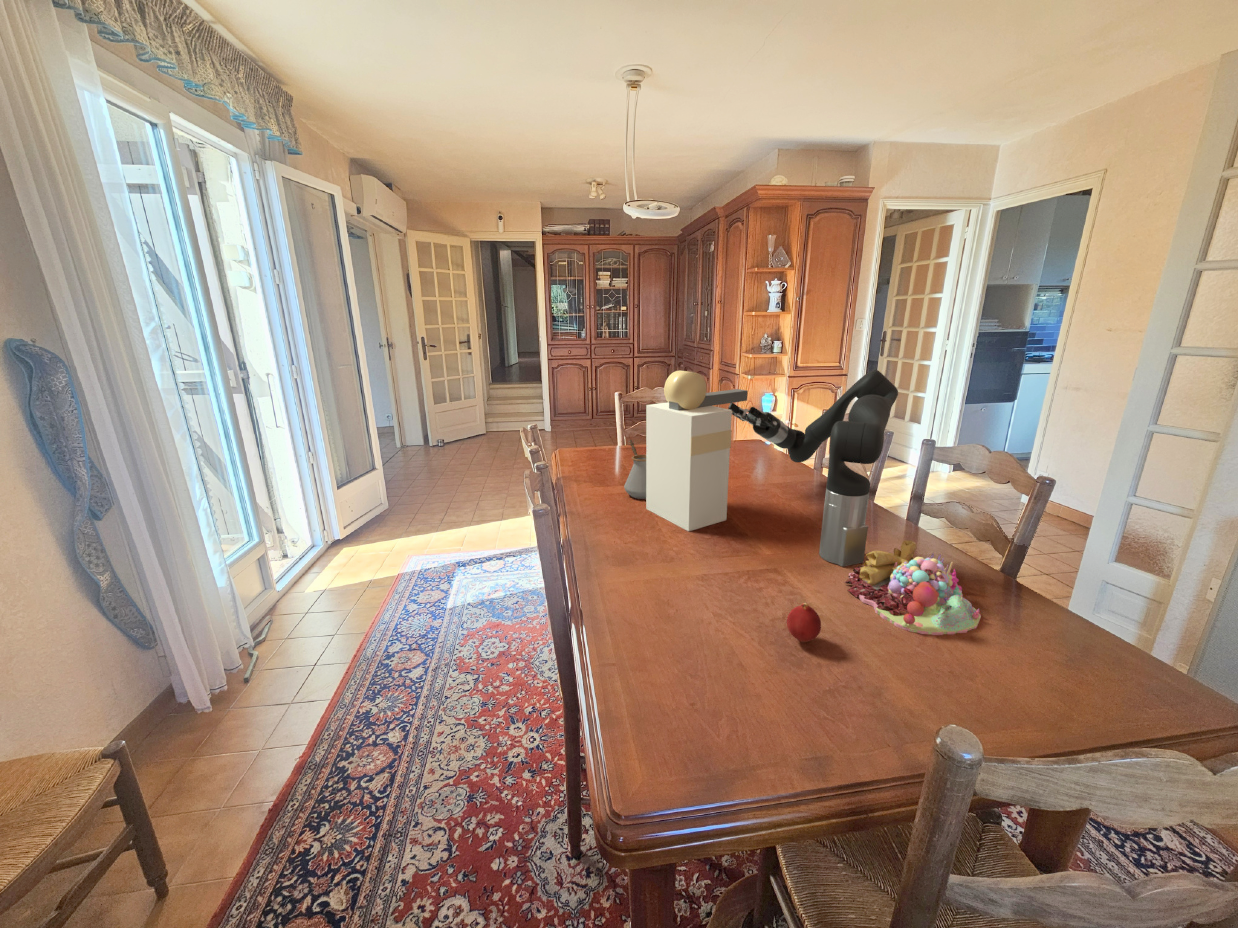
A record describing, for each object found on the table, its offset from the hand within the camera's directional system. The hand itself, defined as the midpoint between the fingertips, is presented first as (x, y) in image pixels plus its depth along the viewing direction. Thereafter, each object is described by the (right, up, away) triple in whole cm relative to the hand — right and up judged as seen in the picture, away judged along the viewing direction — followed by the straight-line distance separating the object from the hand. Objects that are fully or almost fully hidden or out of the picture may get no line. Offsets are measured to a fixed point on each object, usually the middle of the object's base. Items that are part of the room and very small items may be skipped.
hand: (740, 407), depth 152 cm
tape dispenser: (-10, 0, -7) cm, 13 cm away
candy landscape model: (+25, -45, -46) cm, 69 cm away
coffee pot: (-30, -26, +20) cm, 44 cm away
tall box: (-17, -32, -2) cm, 36 cm away
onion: (-3, -49, -60) cm, 78 cm away
